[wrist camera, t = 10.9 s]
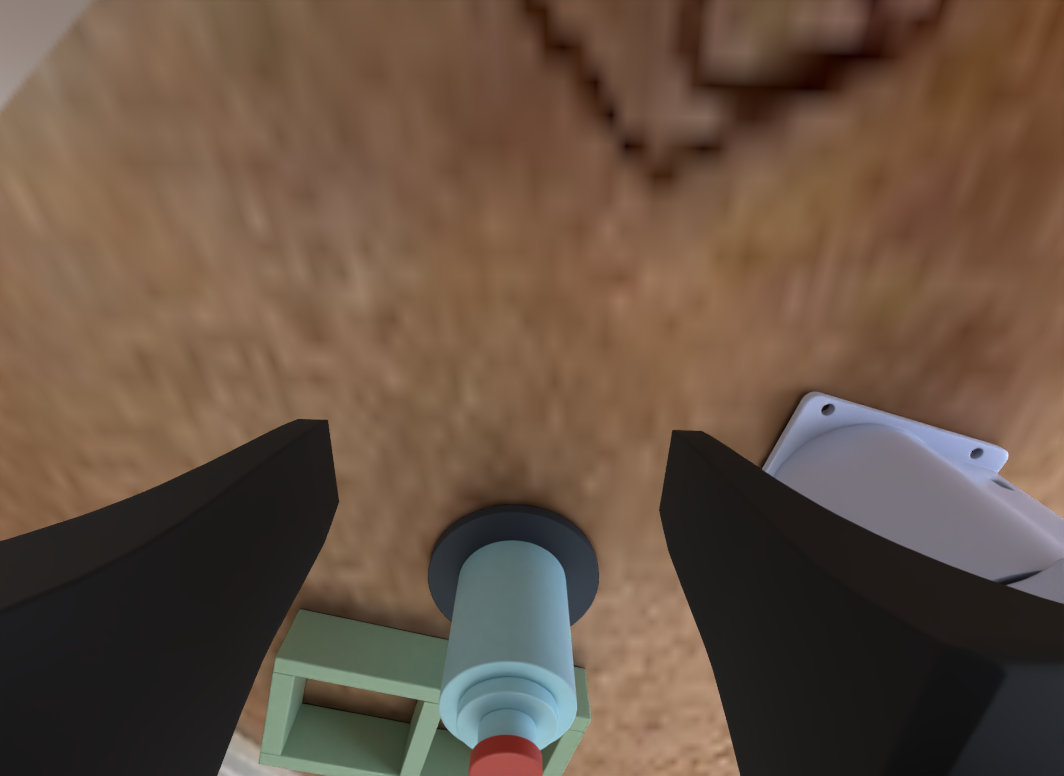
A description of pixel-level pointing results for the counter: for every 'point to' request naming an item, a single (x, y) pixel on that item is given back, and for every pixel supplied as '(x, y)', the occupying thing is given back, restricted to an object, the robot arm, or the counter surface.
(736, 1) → the counter surface
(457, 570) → the coaster
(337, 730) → the bottle rack
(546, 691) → the bottle
